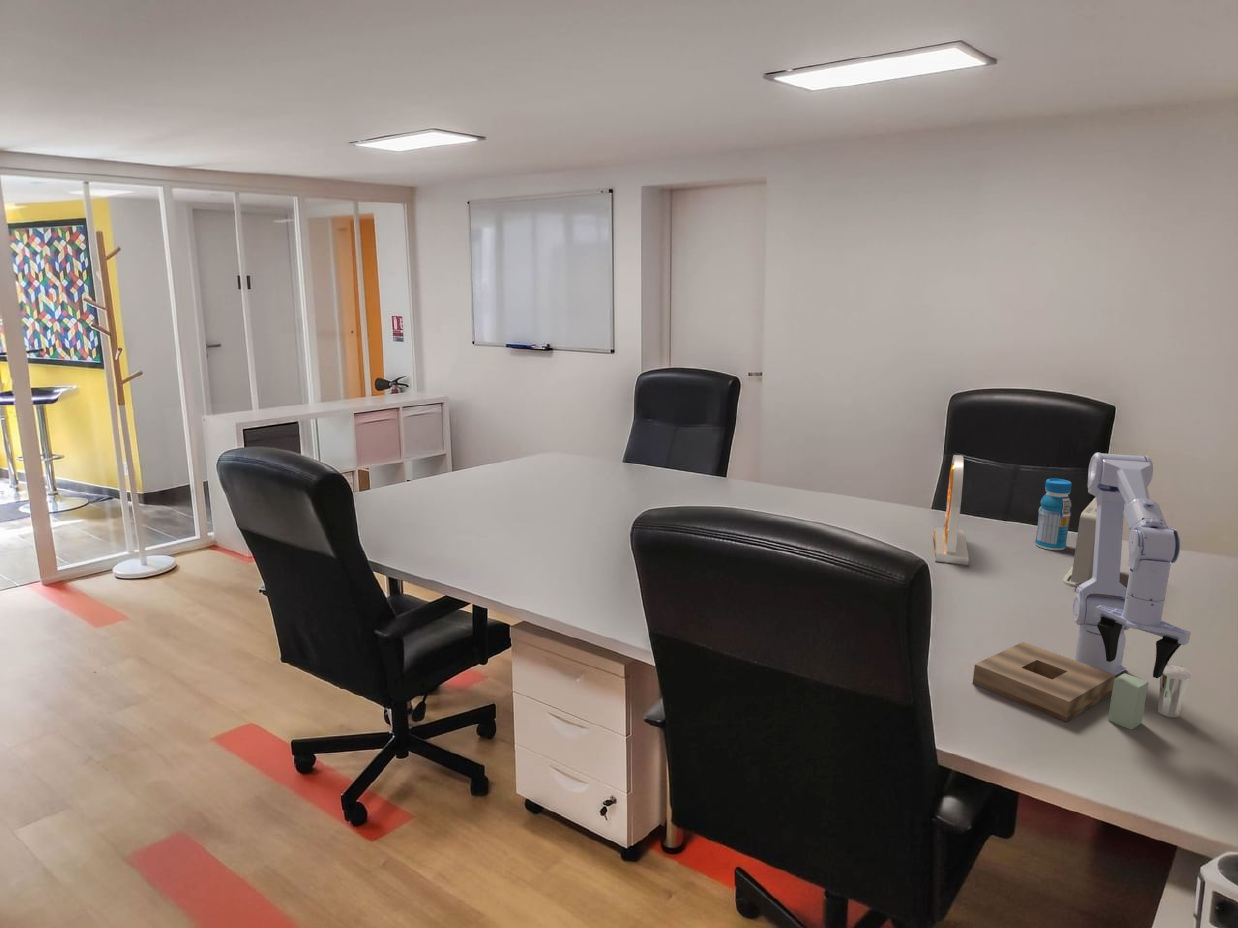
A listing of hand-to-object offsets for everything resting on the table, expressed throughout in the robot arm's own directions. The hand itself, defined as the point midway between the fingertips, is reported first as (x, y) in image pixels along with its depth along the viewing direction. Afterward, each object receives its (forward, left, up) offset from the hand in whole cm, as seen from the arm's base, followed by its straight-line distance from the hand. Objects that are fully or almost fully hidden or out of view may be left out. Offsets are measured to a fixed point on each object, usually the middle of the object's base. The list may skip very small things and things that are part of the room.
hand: (1133, 667), depth 150 cm
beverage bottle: (-91, -59, -11) cm, 109 cm away
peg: (0, 0, -10) cm, 10 cm away
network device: (-72, -40, -11) cm, 83 cm away
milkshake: (-10, +3, -11) cm, 15 cm away
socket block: (0, -15, -10) cm, 18 cm away
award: (-64, -75, -11) cm, 99 cm away
